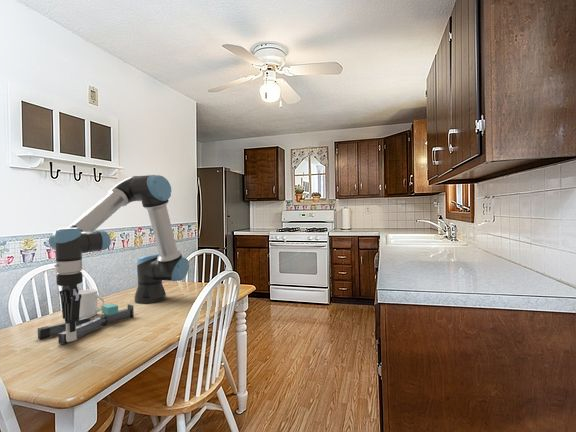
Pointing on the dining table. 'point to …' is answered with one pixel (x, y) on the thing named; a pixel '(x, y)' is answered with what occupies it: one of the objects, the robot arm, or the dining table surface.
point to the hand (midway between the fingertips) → (71, 340)
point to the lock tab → (109, 309)
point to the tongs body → (106, 319)
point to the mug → (89, 303)
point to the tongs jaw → (81, 330)
